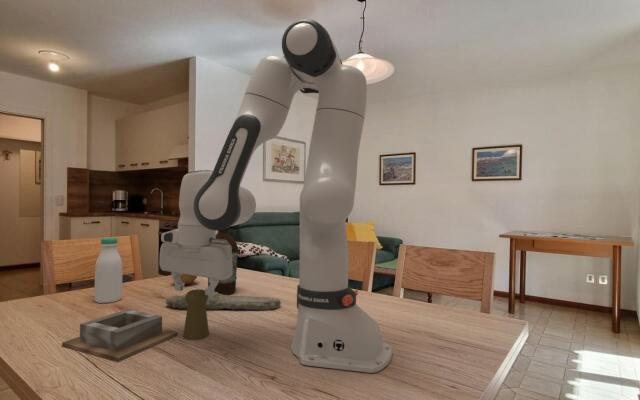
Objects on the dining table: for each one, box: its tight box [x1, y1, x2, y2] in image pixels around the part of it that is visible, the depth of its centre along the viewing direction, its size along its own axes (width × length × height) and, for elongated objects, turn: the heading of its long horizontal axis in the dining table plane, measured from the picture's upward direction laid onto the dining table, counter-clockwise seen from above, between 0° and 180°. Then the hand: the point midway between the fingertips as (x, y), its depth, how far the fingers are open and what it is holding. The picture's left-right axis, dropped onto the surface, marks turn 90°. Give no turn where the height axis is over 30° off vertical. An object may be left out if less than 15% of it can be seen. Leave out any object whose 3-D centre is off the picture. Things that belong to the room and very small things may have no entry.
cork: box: [182, 288, 210, 341], centre depth 89 cm, size 6×6×11 cm
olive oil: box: [207, 227, 239, 296], centre depth 130 cm, size 11×11×25 cm
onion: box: [170, 272, 198, 286], centre depth 140 cm, size 10×10×10 cm
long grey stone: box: [165, 292, 282, 311], centre depth 113 cm, size 35×5×10 cm
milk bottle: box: [94, 237, 123, 304], centre depth 118 cm, size 8×8×20 cm
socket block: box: [61, 309, 179, 363], centre depth 85 cm, size 18×16×5 cm
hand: (194, 293), depth 90 cm, fingers open, 8 cm apart
